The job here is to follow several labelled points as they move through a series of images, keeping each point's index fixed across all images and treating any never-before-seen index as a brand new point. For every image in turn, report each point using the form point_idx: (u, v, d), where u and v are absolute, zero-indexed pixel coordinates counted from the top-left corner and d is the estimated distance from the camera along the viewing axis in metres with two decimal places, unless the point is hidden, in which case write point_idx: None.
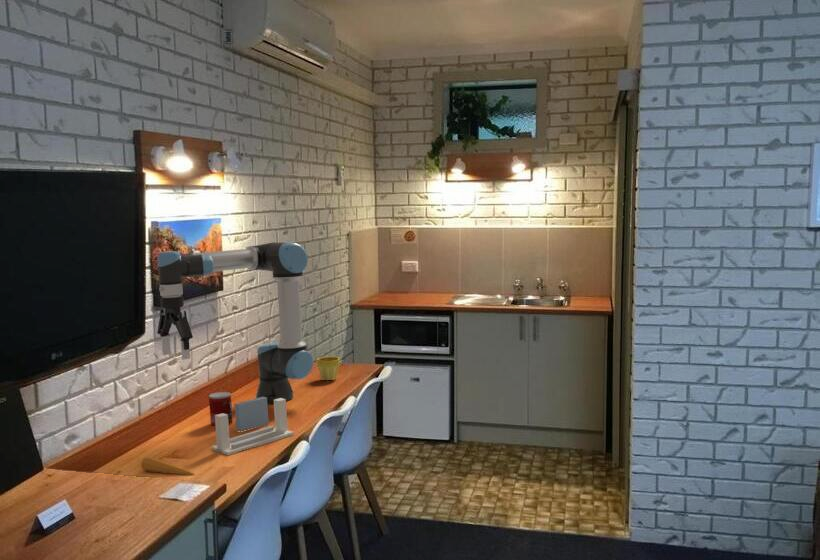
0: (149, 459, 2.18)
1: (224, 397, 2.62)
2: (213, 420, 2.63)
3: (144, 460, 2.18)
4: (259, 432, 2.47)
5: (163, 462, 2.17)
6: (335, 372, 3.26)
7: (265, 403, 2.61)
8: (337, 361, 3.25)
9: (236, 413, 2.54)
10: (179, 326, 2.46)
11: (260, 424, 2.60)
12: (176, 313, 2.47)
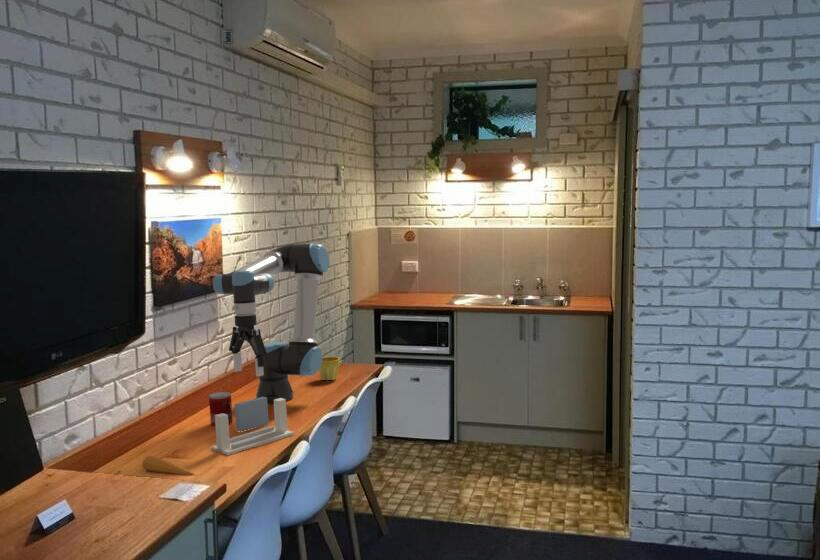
0: (150, 458, 2.18)
1: (224, 397, 2.62)
2: (213, 420, 2.63)
3: (145, 459, 2.18)
4: (259, 432, 2.47)
5: (164, 462, 2.18)
6: (335, 372, 3.26)
7: (265, 403, 2.61)
8: (337, 361, 3.25)
9: (236, 413, 2.54)
10: (253, 344, 2.52)
11: (260, 424, 2.60)
12: (250, 331, 2.52)
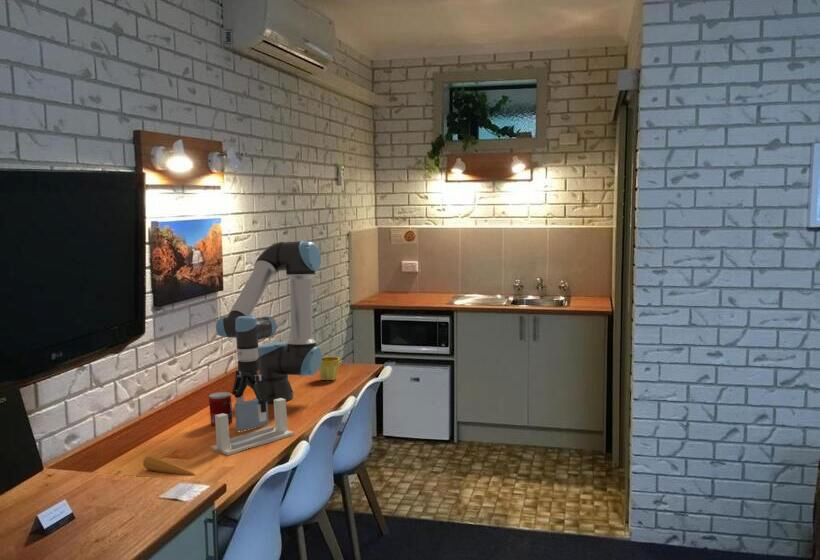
0: (151, 458, 2.18)
1: (224, 397, 2.62)
2: (213, 420, 2.63)
3: (146, 459, 2.19)
4: (259, 432, 2.47)
5: (164, 461, 2.18)
6: (335, 372, 3.26)
7: None
8: (337, 361, 3.25)
9: (236, 413, 2.54)
10: (256, 389, 2.54)
11: (260, 424, 2.60)
12: (253, 376, 2.54)
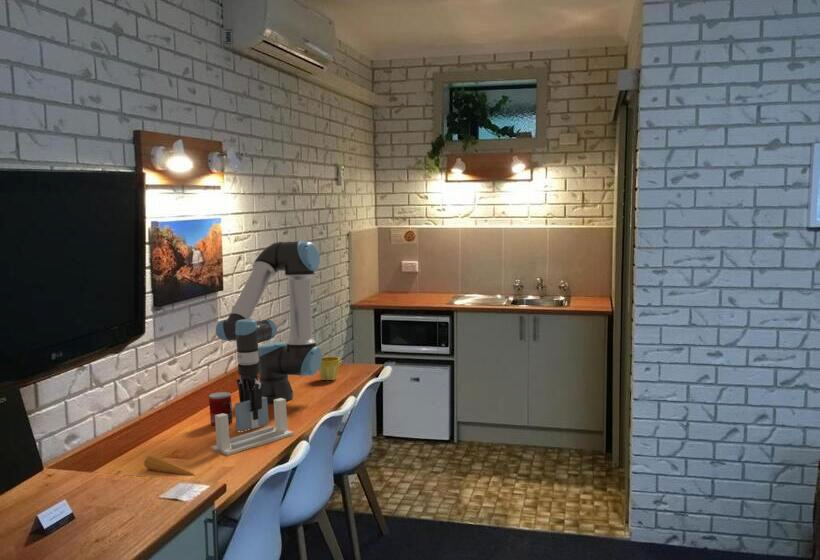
0: (152, 458, 2.19)
1: (224, 397, 2.62)
2: (213, 420, 2.63)
3: (147, 458, 2.19)
4: (259, 432, 2.47)
5: (165, 461, 2.18)
6: (335, 372, 3.26)
7: (265, 403, 2.61)
8: (337, 361, 3.25)
9: (236, 413, 2.54)
10: (252, 396, 2.56)
11: (260, 424, 2.60)
12: (253, 381, 2.54)
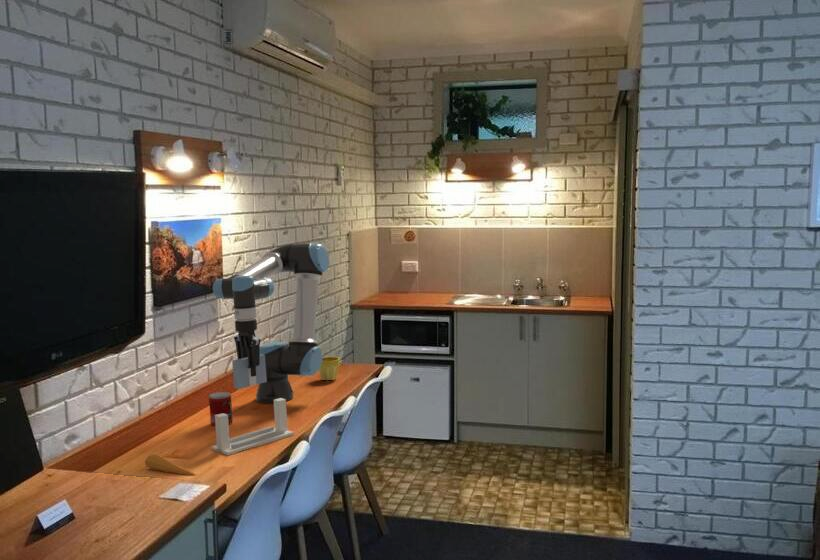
0: (152, 457, 2.19)
1: (224, 397, 2.62)
2: (213, 420, 2.63)
3: (148, 458, 2.19)
4: (259, 432, 2.47)
5: (165, 461, 2.18)
6: (335, 372, 3.26)
7: (263, 360, 2.60)
8: (337, 361, 3.25)
9: (234, 369, 2.53)
10: (250, 352, 2.54)
11: (258, 381, 2.59)
12: (251, 338, 2.53)
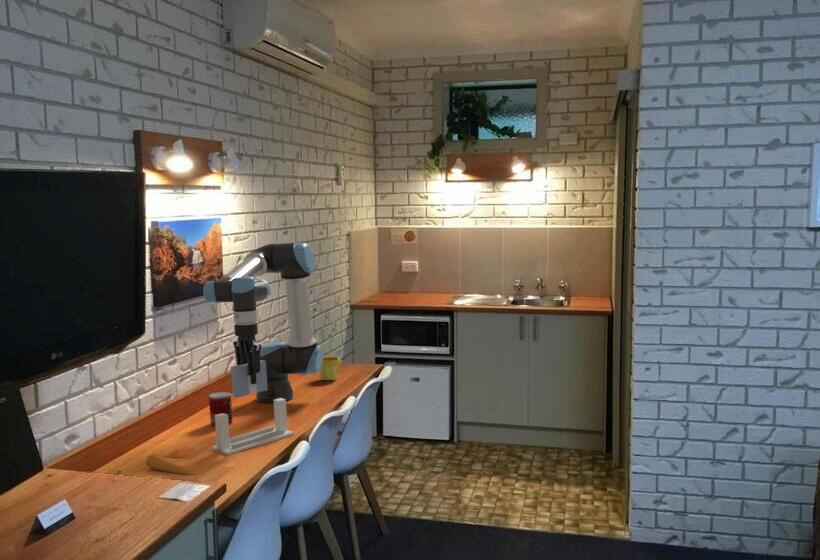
0: (153, 457, 2.19)
1: (224, 397, 2.62)
2: (213, 420, 2.63)
3: (149, 458, 2.20)
4: (259, 432, 2.47)
5: (166, 460, 2.18)
6: (335, 372, 3.26)
7: (264, 367, 2.44)
8: (337, 361, 3.25)
9: (232, 376, 2.37)
10: (250, 358, 2.38)
11: (258, 389, 2.43)
12: (251, 343, 2.37)
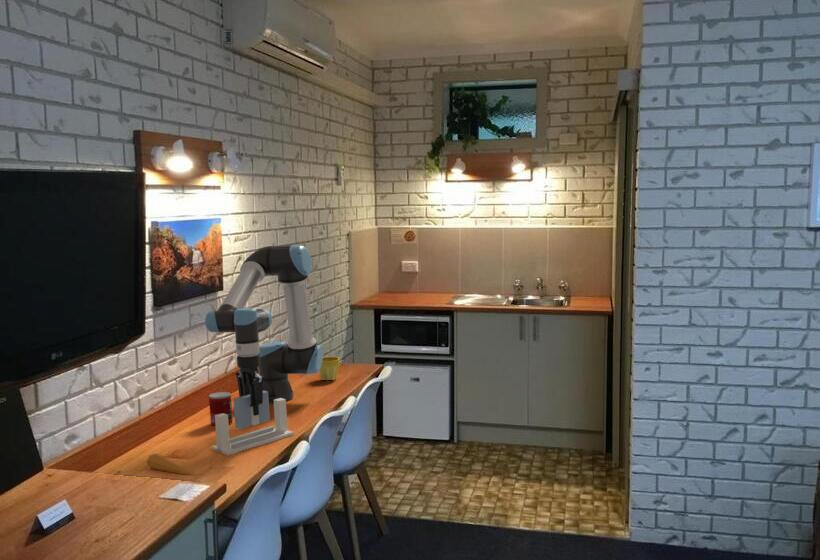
0: (154, 457, 2.20)
1: (224, 397, 2.62)
2: (213, 420, 2.63)
3: (149, 457, 2.20)
4: (259, 432, 2.47)
5: (167, 461, 2.19)
6: (335, 372, 3.26)
7: (266, 397, 2.45)
8: (337, 361, 3.25)
9: (235, 408, 2.38)
10: (252, 390, 2.39)
11: (261, 420, 2.43)
12: (253, 374, 2.37)
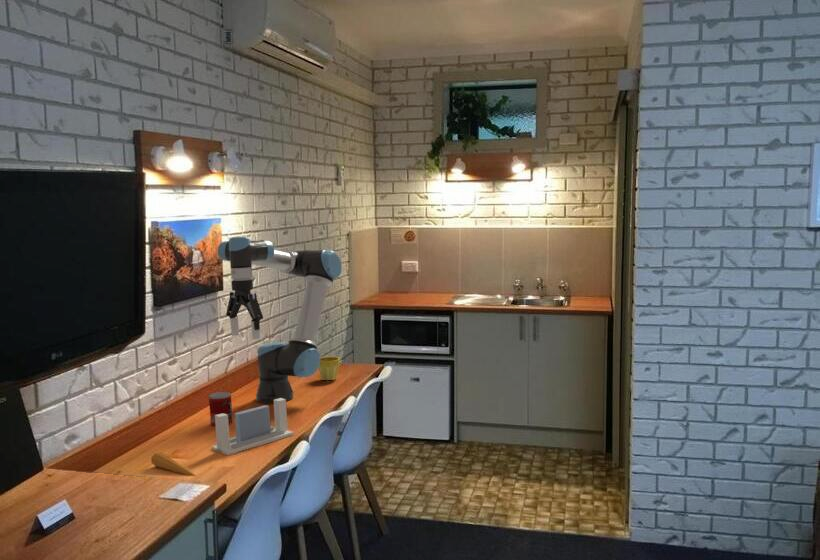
0: (158, 455, 2.21)
1: (224, 397, 2.62)
2: (213, 420, 2.63)
3: (154, 456, 2.21)
4: None
5: (169, 459, 2.19)
6: (335, 372, 3.26)
7: (267, 412, 2.45)
8: (337, 361, 3.25)
9: (236, 423, 2.38)
10: (250, 307, 2.59)
11: (262, 434, 2.44)
12: (247, 295, 2.59)
